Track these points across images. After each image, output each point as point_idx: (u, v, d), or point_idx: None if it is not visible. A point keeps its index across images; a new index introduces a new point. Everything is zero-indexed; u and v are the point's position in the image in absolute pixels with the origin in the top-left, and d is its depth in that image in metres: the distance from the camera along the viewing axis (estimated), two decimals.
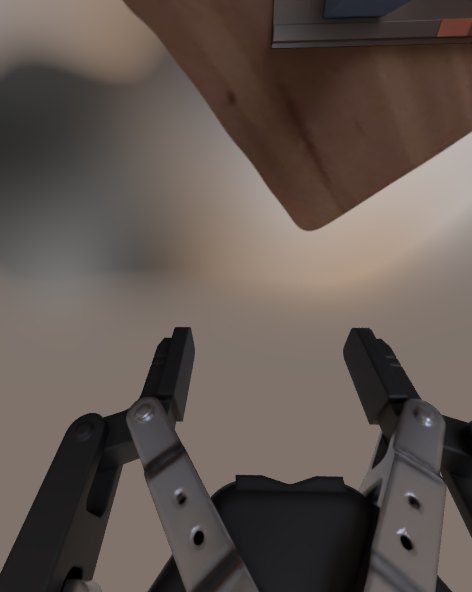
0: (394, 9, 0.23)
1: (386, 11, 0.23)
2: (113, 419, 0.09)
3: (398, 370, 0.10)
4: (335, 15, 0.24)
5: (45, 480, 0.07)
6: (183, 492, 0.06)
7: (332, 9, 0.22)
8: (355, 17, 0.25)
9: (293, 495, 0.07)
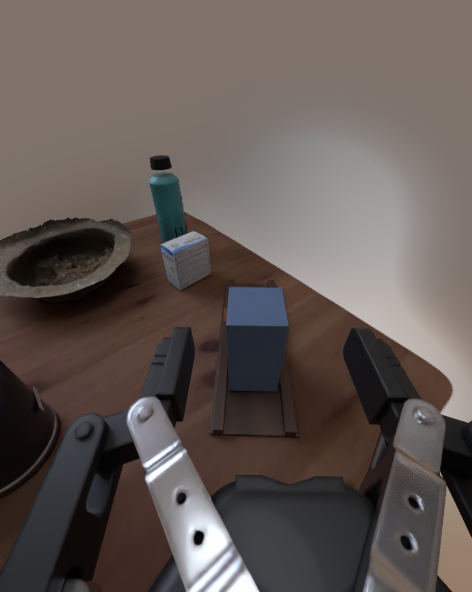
0: None
1: None
2: (113, 419, 0.09)
3: (398, 370, 0.10)
4: None
5: (45, 480, 0.07)
6: (183, 492, 0.06)
7: (279, 377, 0.29)
8: None
9: (293, 495, 0.07)
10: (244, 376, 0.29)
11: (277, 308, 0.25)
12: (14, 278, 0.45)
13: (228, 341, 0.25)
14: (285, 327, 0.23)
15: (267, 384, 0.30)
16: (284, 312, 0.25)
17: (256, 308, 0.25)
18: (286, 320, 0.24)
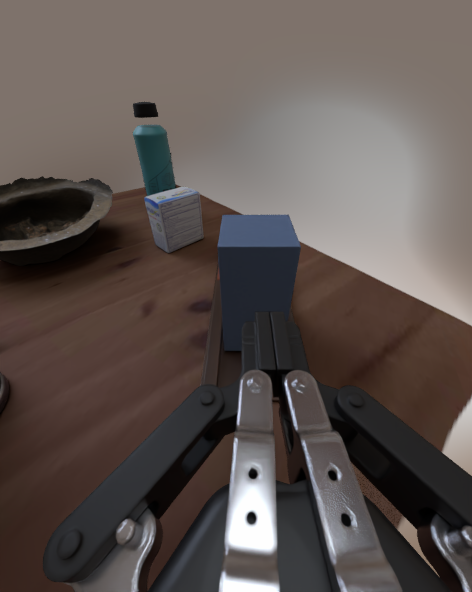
0: None
1: None
2: (224, 391, 0.10)
3: (298, 348, 0.11)
4: None
5: (168, 418, 0.08)
6: (256, 471, 0.07)
7: None
8: None
9: (293, 495, 0.07)
10: None
11: (284, 231, 0.19)
12: None
13: (222, 273, 0.19)
14: (296, 248, 0.18)
15: None
16: (294, 234, 0.19)
17: (258, 231, 0.20)
18: (297, 241, 0.18)
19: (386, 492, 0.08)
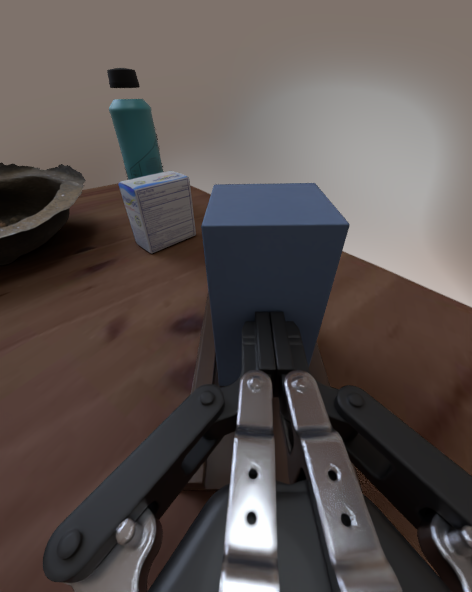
0: None
1: None
2: (224, 391, 0.10)
3: (298, 348, 0.11)
4: None
5: (168, 418, 0.08)
6: (256, 470, 0.07)
7: (310, 358, 0.15)
8: None
9: (293, 495, 0.07)
10: None
11: (314, 203, 0.12)
12: None
13: (211, 273, 0.11)
14: (341, 228, 0.10)
15: None
16: (331, 207, 0.11)
17: (270, 203, 0.12)
18: (341, 216, 0.10)
19: (386, 492, 0.08)
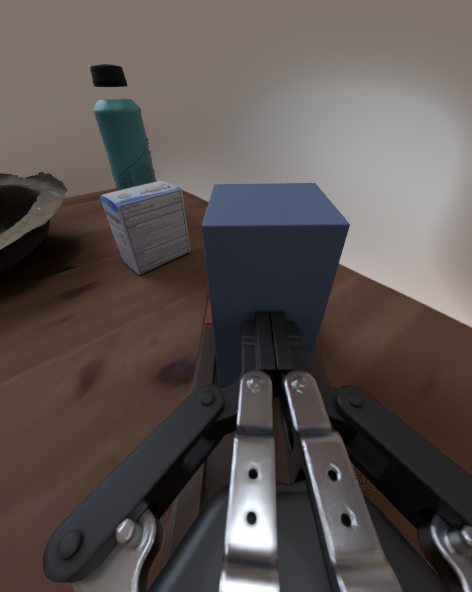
0: None
1: None
2: (224, 391, 0.10)
3: (298, 348, 0.11)
4: None
5: (168, 418, 0.08)
6: (256, 470, 0.07)
7: (310, 358, 0.15)
8: None
9: (293, 495, 0.07)
10: None
11: (314, 203, 0.12)
12: None
13: (211, 273, 0.11)
14: (341, 228, 0.10)
15: None
16: (332, 207, 0.11)
17: (270, 203, 0.12)
18: (341, 216, 0.10)
19: (386, 492, 0.08)
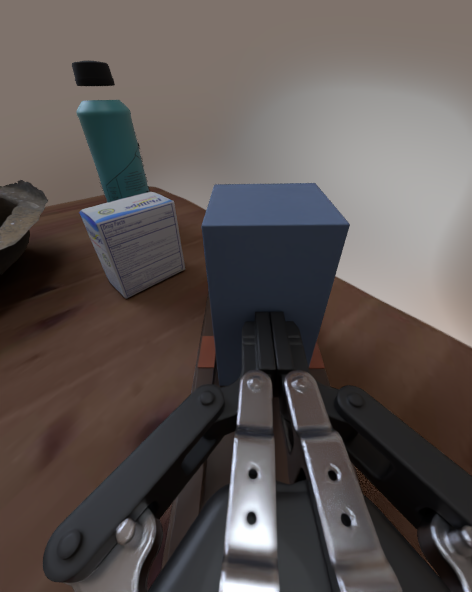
0: None
1: None
2: (224, 391, 0.10)
3: (298, 348, 0.11)
4: None
5: (168, 418, 0.08)
6: (256, 471, 0.07)
7: (310, 358, 0.15)
8: None
9: (293, 495, 0.07)
10: None
11: (314, 203, 0.12)
12: None
13: (211, 273, 0.11)
14: (341, 228, 0.10)
15: None
16: (332, 207, 0.11)
17: (271, 203, 0.12)
18: (341, 216, 0.10)
19: (386, 492, 0.08)
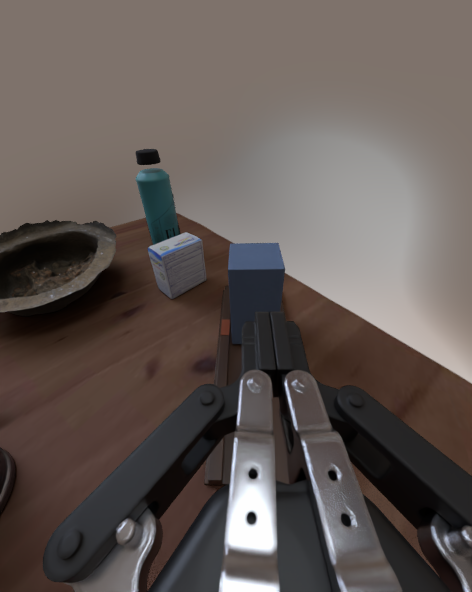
0: None
1: None
2: (224, 391, 0.10)
3: (298, 348, 0.11)
4: None
5: (168, 418, 0.08)
6: (256, 471, 0.07)
7: None
8: None
9: (293, 495, 0.07)
10: None
11: (274, 257, 0.28)
12: None
13: (230, 287, 0.27)
14: (282, 270, 0.26)
15: None
16: (281, 259, 0.27)
17: (255, 257, 0.28)
18: (282, 265, 0.26)
19: (386, 492, 0.08)
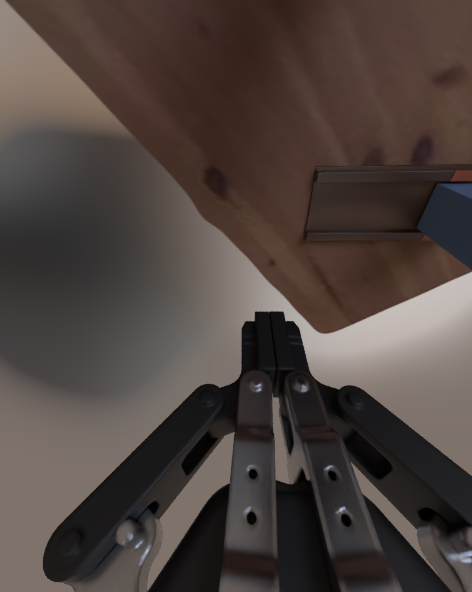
0: None
1: None
2: (224, 391, 0.10)
3: (299, 348, 0.11)
4: None
5: (168, 418, 0.08)
6: (256, 471, 0.07)
7: (429, 237, 0.33)
8: None
9: (293, 495, 0.07)
10: (445, 207, 0.30)
11: None
12: None
13: None
14: None
15: (427, 224, 0.33)
16: None
17: None
18: None
19: (386, 492, 0.08)
